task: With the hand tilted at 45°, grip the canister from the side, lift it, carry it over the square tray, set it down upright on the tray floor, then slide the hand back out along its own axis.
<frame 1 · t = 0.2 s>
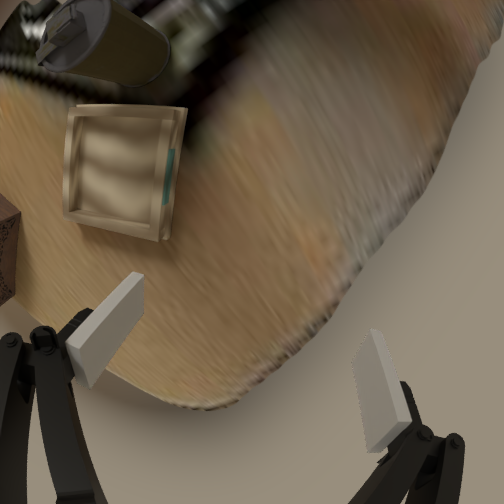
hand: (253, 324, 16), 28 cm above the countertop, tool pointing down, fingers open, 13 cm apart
square tray: (121, 166, 41), on the countertop
tissue box cover: (1, 241, 51), on the countertop
canister: (139, 58, 34), on the countertop
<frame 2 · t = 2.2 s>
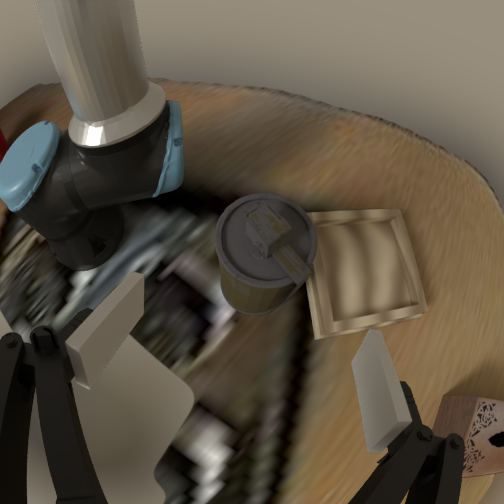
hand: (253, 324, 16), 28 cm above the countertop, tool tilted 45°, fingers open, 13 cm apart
square tray: (360, 271, 47), on the countertop
tissue box cover: (469, 434, 36), on the countertop
plastic cup: (2, 155, 52), on the countertop
canister: (255, 283, 45), on the countertop
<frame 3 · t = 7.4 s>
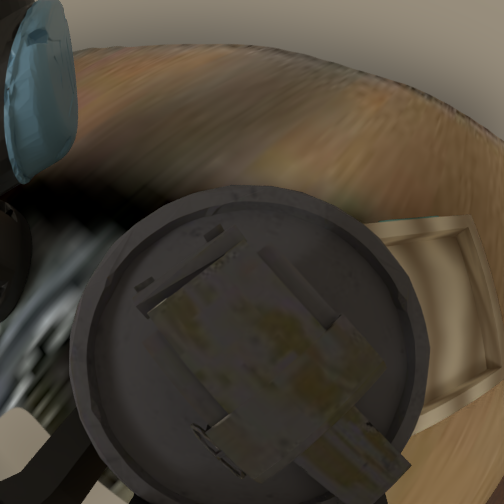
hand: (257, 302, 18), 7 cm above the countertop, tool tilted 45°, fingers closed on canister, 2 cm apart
square tray: (419, 322, 25), on the countertop
canister: (240, 363, 23), on the countertop, touching gripper
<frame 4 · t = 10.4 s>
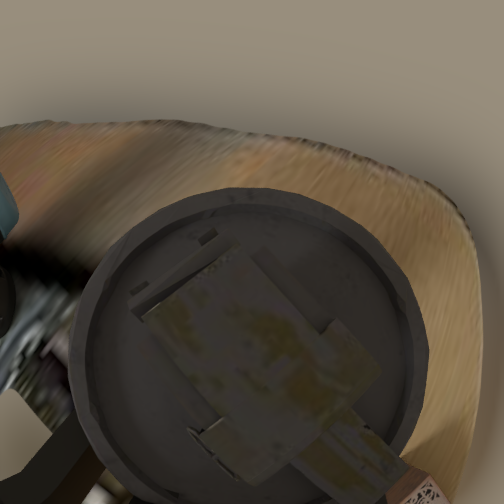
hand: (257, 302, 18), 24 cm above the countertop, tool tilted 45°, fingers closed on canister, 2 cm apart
canister: (241, 364, 23), point 17 cm above the countertop, touching gripper
when the fingers open (9 cm above the countertop, at t = 13.3 s): canister stays where it is, resting on square tray.
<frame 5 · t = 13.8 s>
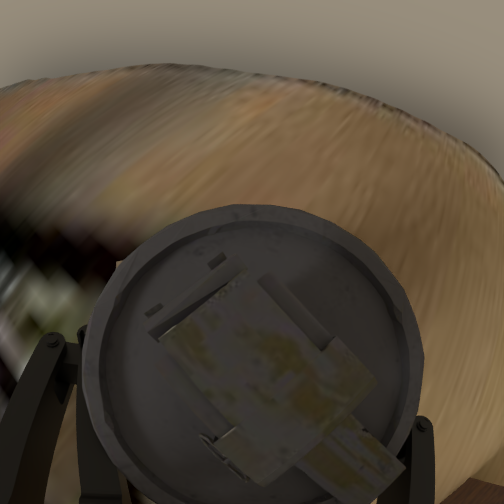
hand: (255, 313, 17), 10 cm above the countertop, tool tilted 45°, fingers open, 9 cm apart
canister: (243, 367, 23), point 1 cm above the countertop, touching square tray
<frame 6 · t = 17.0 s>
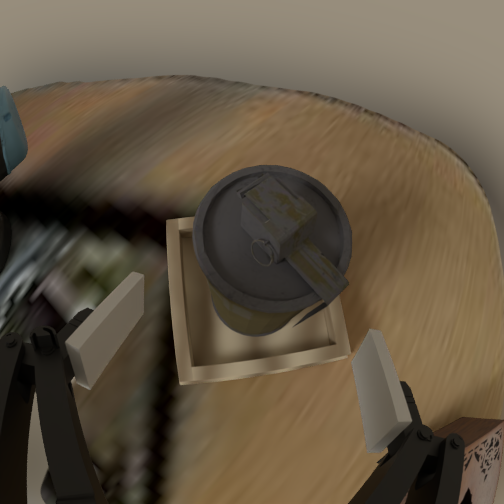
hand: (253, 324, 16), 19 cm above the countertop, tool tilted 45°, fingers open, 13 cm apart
square tray: (252, 294, 36), on the countertop
tissue box cover: (425, 497, 25), on the countertop
canister: (256, 295, 34), point 1 cm above the countertop, touching square tray
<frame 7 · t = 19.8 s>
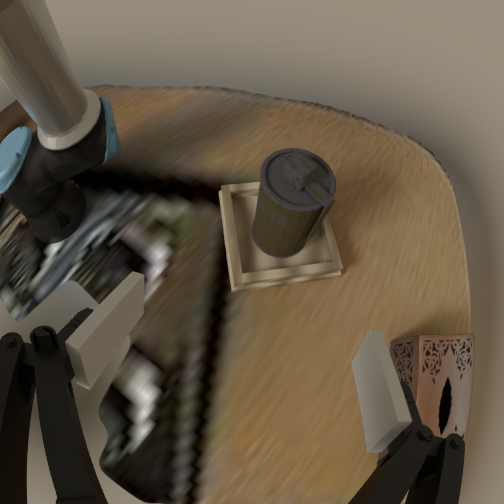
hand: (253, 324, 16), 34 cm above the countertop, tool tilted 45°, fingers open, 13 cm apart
square tray: (277, 234, 55), on the countertop
tissue box cover: (414, 403, 44), on the countertop
canister: (280, 233, 54), point 1 cm above the countertop, touching square tray
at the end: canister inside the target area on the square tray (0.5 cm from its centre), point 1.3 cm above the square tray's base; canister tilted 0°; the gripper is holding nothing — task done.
